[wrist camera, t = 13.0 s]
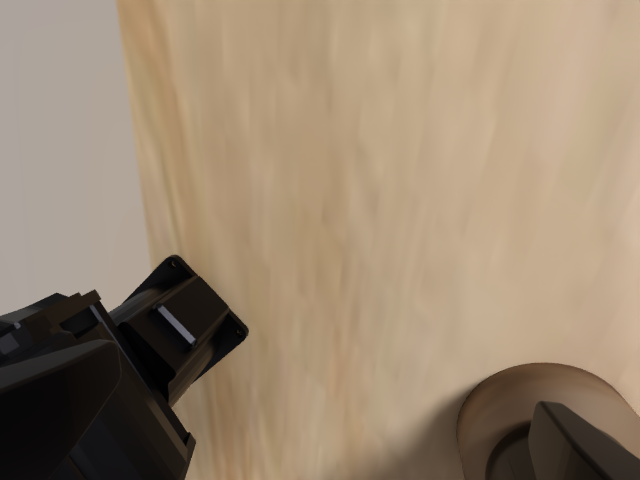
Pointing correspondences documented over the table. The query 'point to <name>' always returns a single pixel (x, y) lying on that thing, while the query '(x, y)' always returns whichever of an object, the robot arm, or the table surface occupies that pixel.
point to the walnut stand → (519, 402)
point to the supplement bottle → (514, 457)
